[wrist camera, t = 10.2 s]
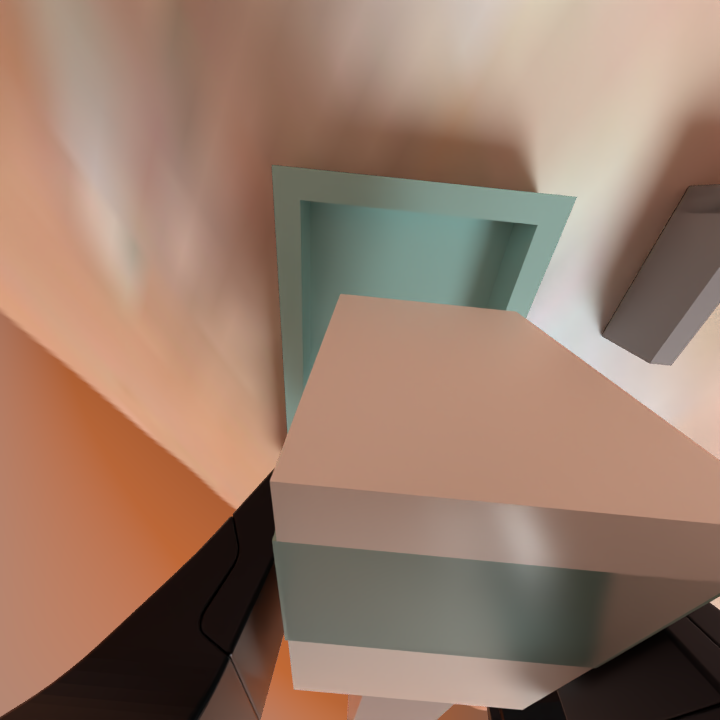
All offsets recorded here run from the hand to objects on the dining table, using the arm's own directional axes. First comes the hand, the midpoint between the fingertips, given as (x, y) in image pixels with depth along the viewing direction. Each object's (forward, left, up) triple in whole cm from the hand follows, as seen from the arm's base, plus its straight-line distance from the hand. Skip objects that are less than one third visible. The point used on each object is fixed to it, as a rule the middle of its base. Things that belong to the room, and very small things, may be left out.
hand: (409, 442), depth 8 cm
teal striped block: (-2, 0, -1) cm, 3 cm away
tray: (-2, 0, -8) cm, 9 cm away
